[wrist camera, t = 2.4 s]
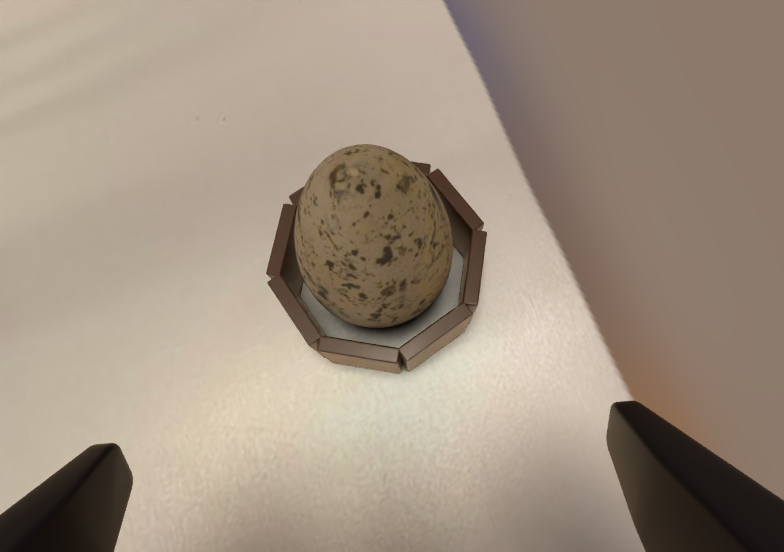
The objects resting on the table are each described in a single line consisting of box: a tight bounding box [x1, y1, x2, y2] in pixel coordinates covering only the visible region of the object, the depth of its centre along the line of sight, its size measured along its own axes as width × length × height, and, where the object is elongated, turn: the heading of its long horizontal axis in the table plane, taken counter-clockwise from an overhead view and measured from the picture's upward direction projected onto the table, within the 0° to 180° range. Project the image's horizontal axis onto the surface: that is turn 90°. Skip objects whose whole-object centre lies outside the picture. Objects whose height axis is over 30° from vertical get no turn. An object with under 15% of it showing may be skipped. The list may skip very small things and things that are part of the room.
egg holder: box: [266, 162, 487, 374], centre depth 22 cm, size 8×8×4 cm
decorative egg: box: [294, 144, 453, 328], centre depth 19 cm, size 6×6×10 cm
